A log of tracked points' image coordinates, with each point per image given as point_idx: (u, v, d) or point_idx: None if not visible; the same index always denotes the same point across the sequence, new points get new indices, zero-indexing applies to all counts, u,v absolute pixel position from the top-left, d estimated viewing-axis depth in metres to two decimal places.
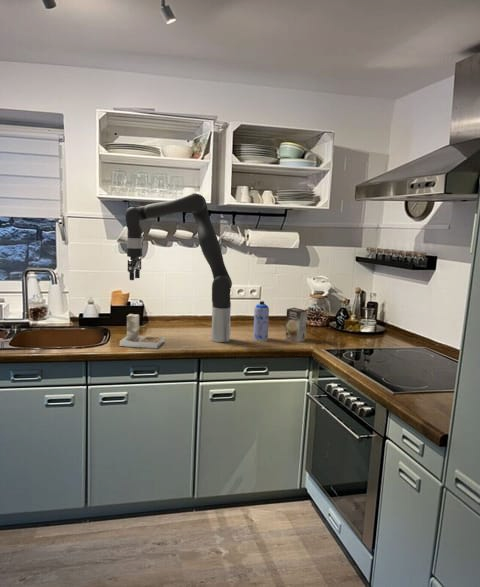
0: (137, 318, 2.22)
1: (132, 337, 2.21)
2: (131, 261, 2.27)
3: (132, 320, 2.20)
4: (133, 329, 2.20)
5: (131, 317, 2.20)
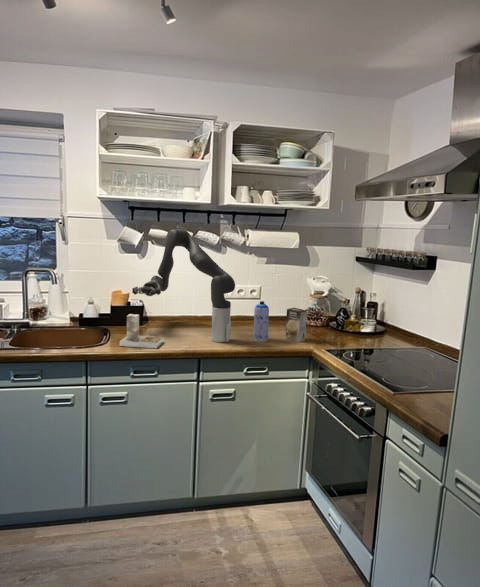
0: (137, 318, 2.22)
1: (132, 337, 2.21)
2: None
3: (132, 320, 2.20)
4: (133, 329, 2.20)
5: (131, 317, 2.20)
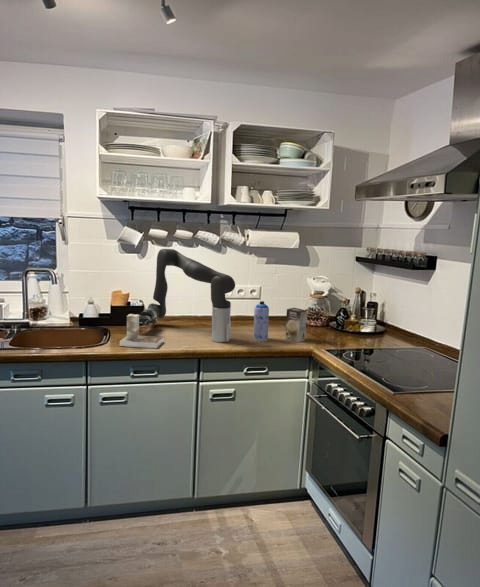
0: (137, 318, 2.22)
1: (132, 337, 2.21)
2: None
3: (132, 320, 2.20)
4: (133, 329, 2.20)
5: (131, 317, 2.20)
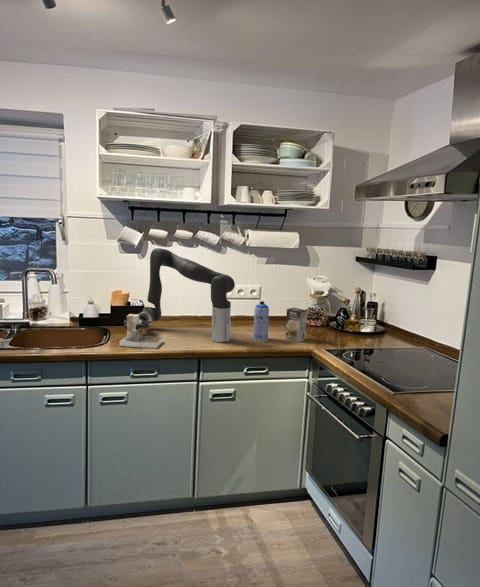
0: (137, 318, 2.22)
1: (132, 337, 2.21)
2: None
3: (132, 320, 2.20)
4: (133, 329, 2.20)
5: (131, 317, 2.20)
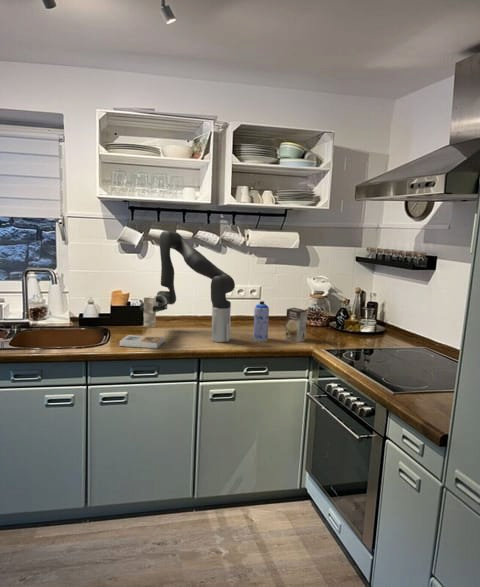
0: (154, 300, 2.19)
1: (149, 319, 2.19)
2: (140, 303, 2.27)
3: (149, 302, 2.17)
4: (150, 311, 2.18)
5: (148, 299, 2.17)
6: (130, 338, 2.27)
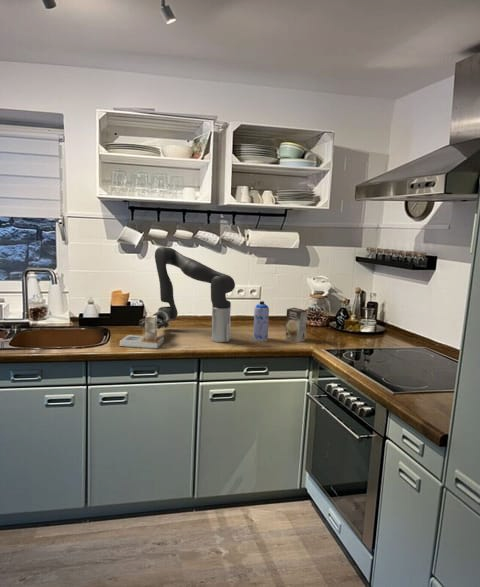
0: (155, 319, 2.21)
1: (150, 338, 2.20)
2: None
3: (151, 321, 2.19)
4: (152, 330, 2.20)
5: (149, 318, 2.19)
6: (130, 338, 2.27)
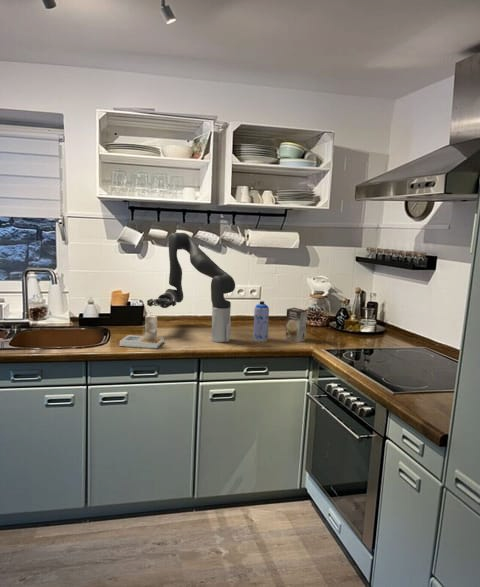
0: (155, 319, 2.21)
1: (150, 338, 2.20)
2: None
3: (151, 321, 2.19)
4: (152, 330, 2.20)
5: (149, 318, 2.19)
6: (130, 338, 2.27)
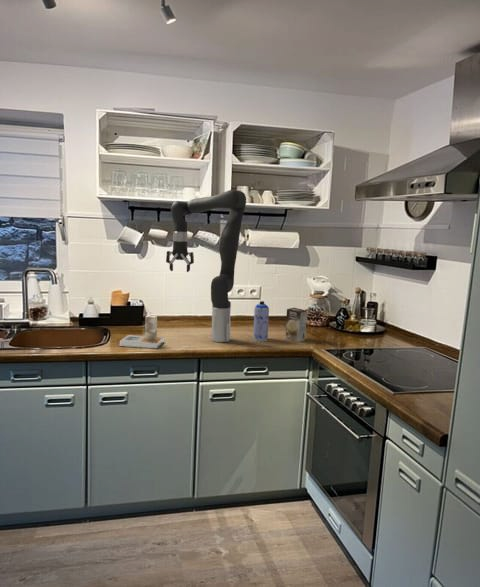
0: (155, 319, 2.21)
1: (150, 338, 2.20)
2: None
3: (151, 321, 2.19)
4: (152, 330, 2.20)
5: (149, 318, 2.19)
6: (130, 338, 2.27)
